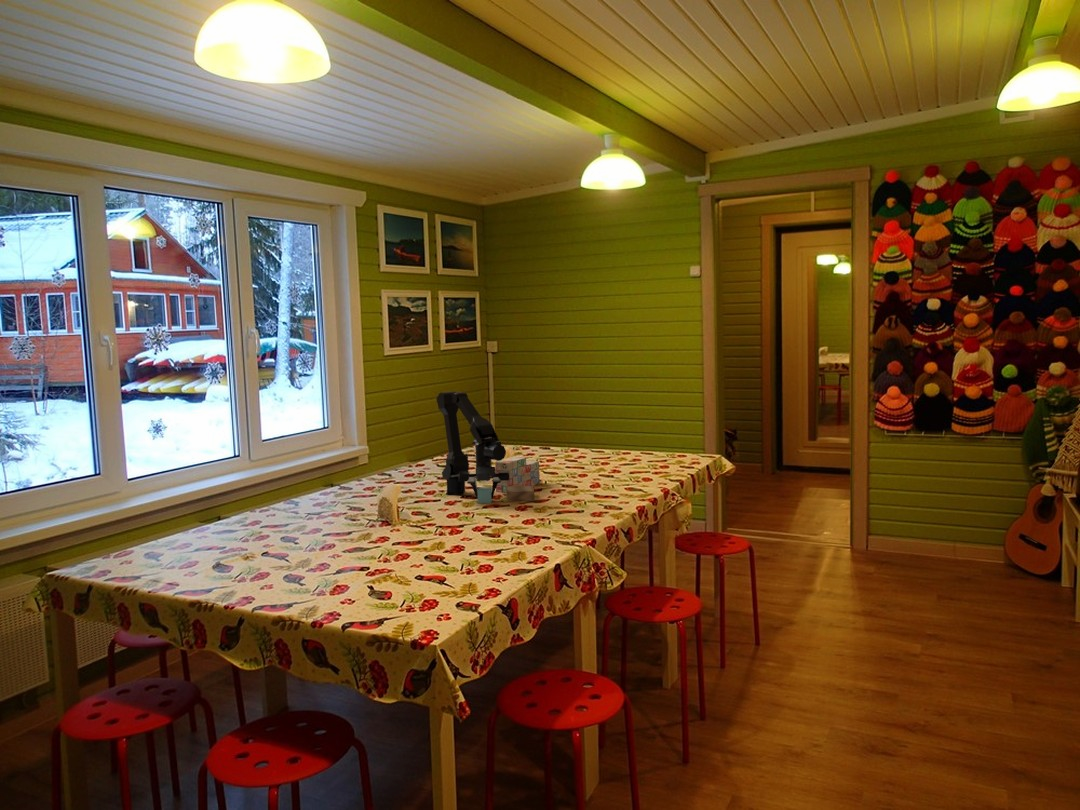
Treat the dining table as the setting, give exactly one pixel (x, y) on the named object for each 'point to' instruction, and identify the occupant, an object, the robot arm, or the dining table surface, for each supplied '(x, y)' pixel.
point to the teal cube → (484, 495)
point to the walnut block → (519, 493)
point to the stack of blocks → (518, 472)
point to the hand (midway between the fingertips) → (484, 499)
